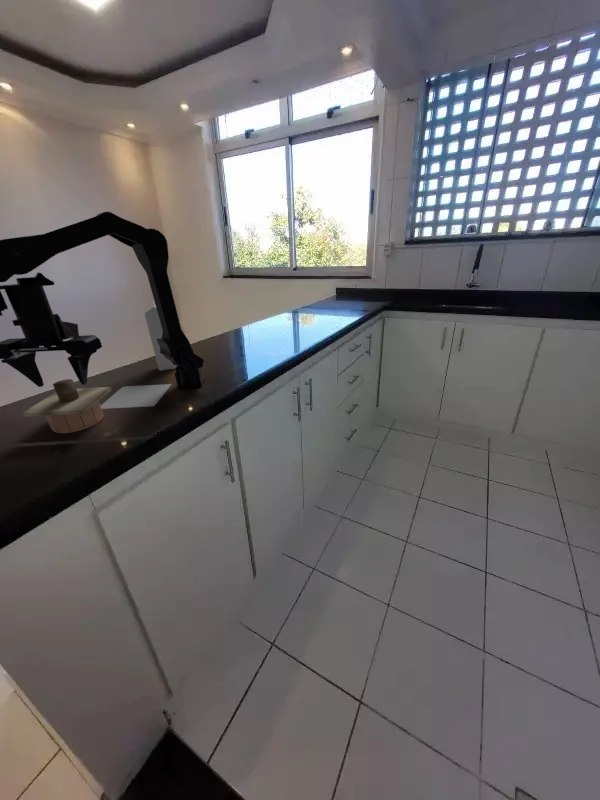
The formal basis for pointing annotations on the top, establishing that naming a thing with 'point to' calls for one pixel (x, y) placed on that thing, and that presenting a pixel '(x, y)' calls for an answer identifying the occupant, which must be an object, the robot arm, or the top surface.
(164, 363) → the milk
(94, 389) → the cover
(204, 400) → the top surface
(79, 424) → the bowl
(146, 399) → the mat
